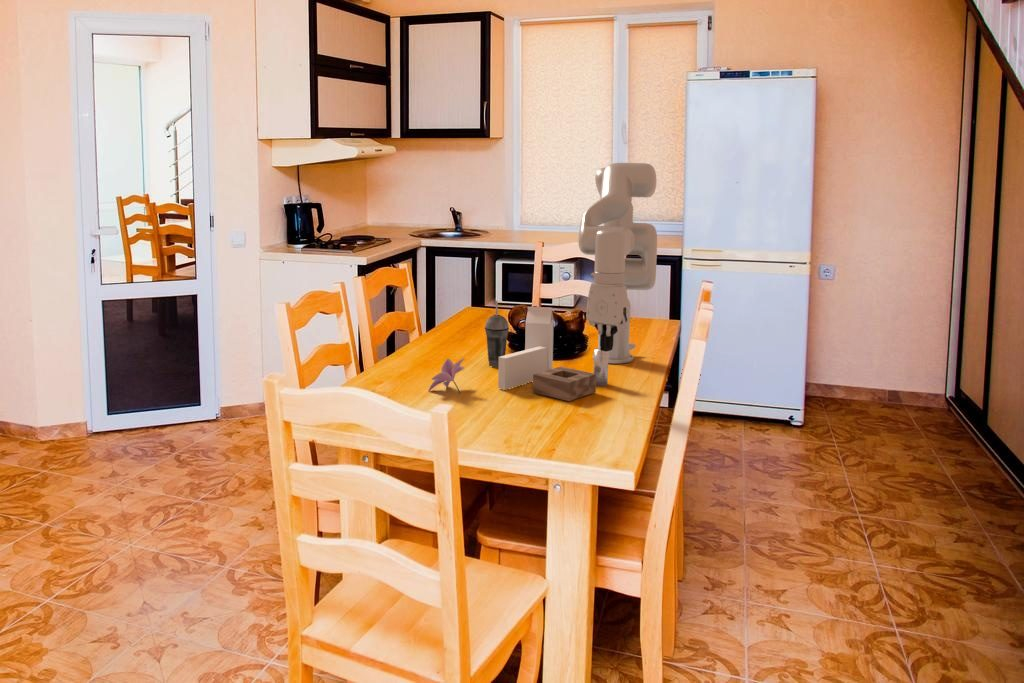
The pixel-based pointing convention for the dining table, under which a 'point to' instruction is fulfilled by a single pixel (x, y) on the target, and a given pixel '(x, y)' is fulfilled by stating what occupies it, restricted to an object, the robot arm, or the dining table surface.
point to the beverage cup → (496, 337)
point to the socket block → (564, 383)
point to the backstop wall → (521, 367)
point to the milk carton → (540, 331)
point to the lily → (447, 373)
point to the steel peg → (601, 367)
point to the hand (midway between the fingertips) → (606, 350)
